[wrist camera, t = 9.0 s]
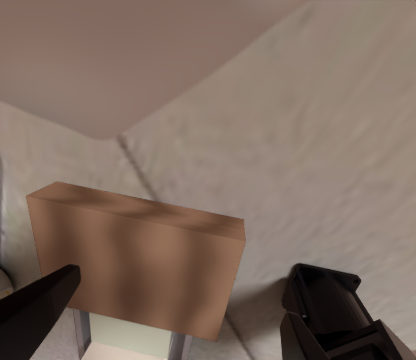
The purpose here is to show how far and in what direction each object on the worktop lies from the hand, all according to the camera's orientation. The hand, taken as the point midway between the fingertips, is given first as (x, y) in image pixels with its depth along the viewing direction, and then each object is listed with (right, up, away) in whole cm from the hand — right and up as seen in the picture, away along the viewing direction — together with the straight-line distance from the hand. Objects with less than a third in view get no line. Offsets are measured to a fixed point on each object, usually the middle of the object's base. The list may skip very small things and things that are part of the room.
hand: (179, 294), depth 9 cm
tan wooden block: (-6, -4, +15) cm, 17 cm away
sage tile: (-8, -13, +19) cm, 24 cm away
